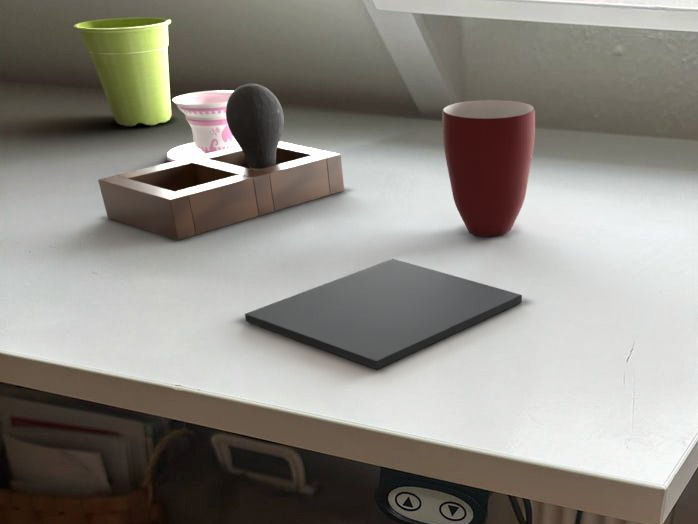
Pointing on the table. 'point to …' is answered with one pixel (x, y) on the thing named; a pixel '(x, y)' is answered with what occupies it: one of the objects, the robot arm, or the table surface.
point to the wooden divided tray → (218, 189)
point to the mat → (383, 311)
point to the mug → (488, 161)
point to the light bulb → (255, 123)
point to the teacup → (204, 123)
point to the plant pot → (131, 66)
